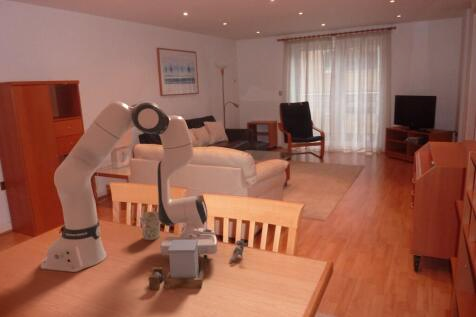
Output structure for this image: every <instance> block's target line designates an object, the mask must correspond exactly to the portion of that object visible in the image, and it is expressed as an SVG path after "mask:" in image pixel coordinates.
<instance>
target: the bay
mask: <svg viewBox="0 0 476 317" xmlns="http://www.w3.org/2000/svg"><path fill="white" fill-rule="evenodd" d="M201 262H202V263H201V264H200V265H201V266H200V269H199V271H200V273H199V277H198V278H171V273H170V269H169V270H168V272H167V275H166V278H165V277H164V272H163V271H164V269H163V268H164V267H158V266H157V267H152V275H149V276H148V288H149V291H154V290H155V291H156V290H157V291H160V289H161V285H160V282H163V285H164V289H172V290H173V289H174V290H175V289H202V286H203V284H204V277H205V273H206V269H207V264H208V254H203V257H202V261H201Z"/></svg>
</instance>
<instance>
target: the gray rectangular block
mask: <svg viewBox="0 0 476 317" xmlns="http://www.w3.org/2000/svg"><path fill="white" fill-rule="evenodd" d="M197 243H198V240H172V243H171V245H170V247H169V249H168V253H169V255H168V257H169V270H170V273H171V278H199V274H200V269H199V267H200V266H199V254H198V248H197Z"/></svg>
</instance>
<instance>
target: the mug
mask: <svg viewBox="0 0 476 317" xmlns="http://www.w3.org/2000/svg"><path fill="white" fill-rule="evenodd" d="M139 220H140V224H141V228H142V238H143V240H147V241H155V240H157V239H159V238H160V233H161V232H160V231H161V230H160V229H161V222H160V220H159V217H158V211H155V210H154V211H147V212H143V213H141V214H140V215H139Z"/></svg>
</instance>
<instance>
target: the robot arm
mask: <svg viewBox="0 0 476 317" xmlns="http://www.w3.org/2000/svg"><path fill="white" fill-rule="evenodd" d="M187 124H188V123H187V122H186V120H185V118H184V117H182V116H180V115H174V114H173V115H167V113H165V112H164V110H163V109H162V107H161V105H160V104H158V103H157V102H155V101H152V100H144V101H140V102H138V103H136V104H134V105H131V106H130V105H128V104H126V103H125V102H122V101H119V100H116V101H115V100H114V101H111V103H109V104H108V105H106V107H105V108H103V110H102V111H100V113H98V115H97V116H96V117H95V119H94V120H93V121H92V123H91V124H90V125H89V127H88V128H87V129H86V130H85V132H84V133H82V134H83V135H82V136H81V137H80V138H79V140H78V141H77V143H76V144H75V145H74V146H73V148H72V149H71V151H70V152H69V153H68V155H67V156H66V157H65V159H64V160H63V161H62V162H61V163H60V164H59V166H58V167H56V170H55V172H54V176H53V182H54V185H55V188H56V191H57V195H58V198H59V201H60V204H61V208H62V214H63V220H64V225H62V226H61V228H60V229H59V230H58V234H60V233H61V235H60V236H59V237H58V238H57V239H55V241H53V242H52V243H51V244H50V245H49V246H48V248H47V250H46V257H45V258H43V259H42V261H41V263H40V269H42V270H51V271H52V270H53V271H61V272H71V273H72V272H73V273H77V272H80V271H81V270H83V269H86V268H89V267H92V266H95V265H97V264H100V263H102V261H104V260H105V259H106V258H107V256H108V255H107V252H106V249H105V248H104V244H103V242H102V238H101V226H100V221H99V220H98V213H97V205H96V200H95V197H94V196H95V195H94V192H93V188H92V183H91V182H92V181H91V180H92V176H93V175H94V174H95V172H96V171H97V170H98V169H99V168H100V166H101V165H102V164H103V162H105V160H106V159H107V158H108V157H109V156H110V154H111V153H112V152H113V151H114V149H115V147H117V145H118V143H119V142H120V141H121V140H122V138H124V135H126V133H127V132H128V131H130V129H131V128H136V129H137V130H138V131H140V132H141V133H145V134H151V135H152V134H154V135H158V136H159V138H160V141H161V146H162V149H163V154H162V155H163V156H162V159H161V160H160V161H159V162H158V164H157V174H156V175H157V194H158V195H157V196H158V197H157V198H158V203H157V204H158V205H157V206H158V207H157V212H158V217H159V220H160V223H162V224H163V225H165V226H167V227H171V226H175V225H177V224H178V225H179V224H185V225H184V226H183V227H184V228H183V230H182V232H181V234H180V236H168V237H166V238H164V240H162V242H161V243H160V247H159V248H160V249H159V250H160V254H161V255H163V256H164V255H165V256H166V255H167V256H169V253H168V249H169V247H170V245H171V243H172V240H198V243H197V248H198V255H215V254H217V253H218V238H217V236H216V233H215V232H216V231H215V230H213V229H207V228H208V225H207V219H208V209H207V205H206V202H205V201H204V200H203V199H202V198H201V197H200V196H198V195H193V196H188V197H186V196H185V197H181V198H174V199H173V198H171V195H170V194H171V193H170V191H171V189H170V178H171V177H172V175H174V174H176V173H177V172H179V171H181V170H182V169H184V168H185V167H187V166H188V165H189V164H190V163H191V161H193V158H194V146H193V141H192V137H191V133H190V129H189V127H188V125H187Z"/></svg>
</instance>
